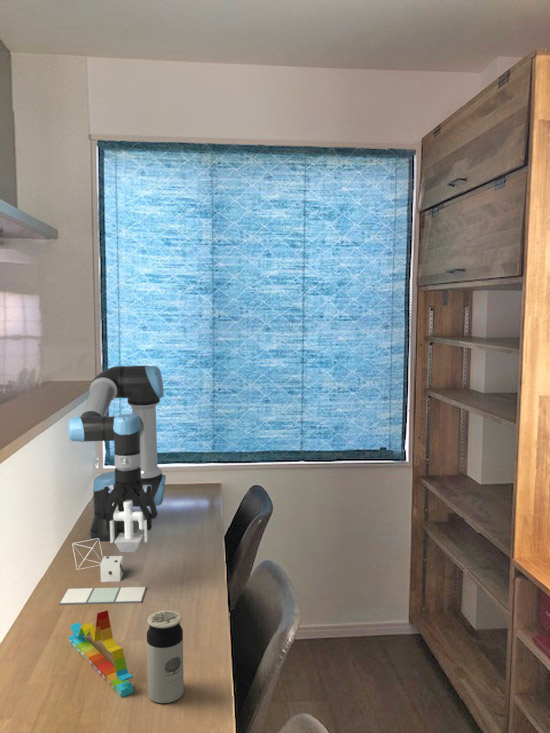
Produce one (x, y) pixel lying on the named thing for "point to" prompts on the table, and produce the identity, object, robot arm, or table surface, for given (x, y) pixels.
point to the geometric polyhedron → (87, 554)
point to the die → (111, 568)
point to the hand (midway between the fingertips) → (129, 540)
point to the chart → (109, 673)
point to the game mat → (103, 595)
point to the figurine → (128, 527)
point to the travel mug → (165, 657)
